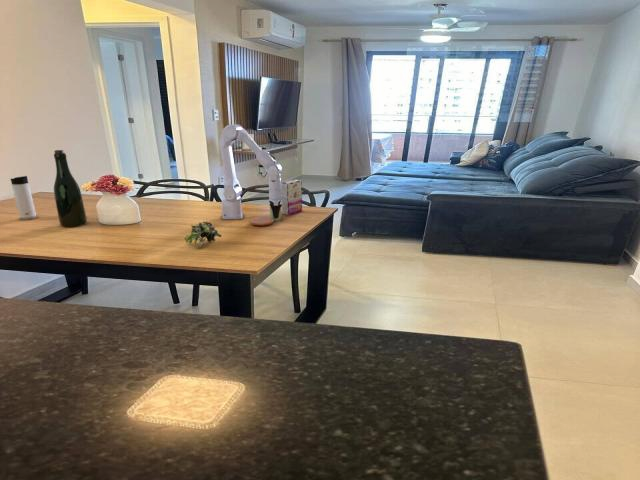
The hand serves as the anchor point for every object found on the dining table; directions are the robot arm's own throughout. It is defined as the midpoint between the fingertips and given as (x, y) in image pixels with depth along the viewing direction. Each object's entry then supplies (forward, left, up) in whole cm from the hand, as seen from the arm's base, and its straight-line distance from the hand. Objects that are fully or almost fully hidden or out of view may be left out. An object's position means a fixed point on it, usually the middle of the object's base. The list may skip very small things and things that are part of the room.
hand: (275, 216), depth 185 cm
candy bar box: (+9, +12, -2) cm, 15 cm away
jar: (0, 0, -1) cm, 1 cm away
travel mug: (-116, +14, -2) cm, 117 cm away
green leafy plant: (-30, -34, -2) cm, 45 cm away
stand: (-7, -7, -1) cm, 10 cm away
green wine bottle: (-91, +1, -2) cm, 91 cm away
